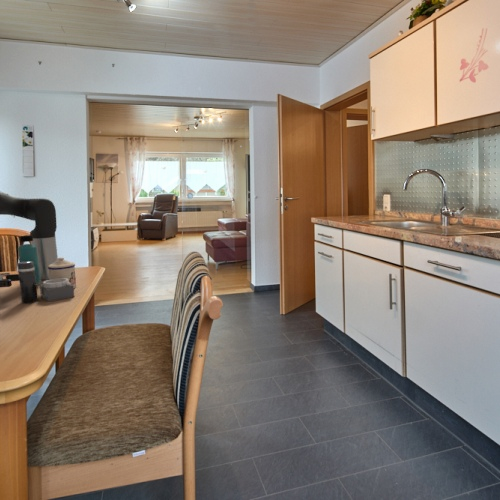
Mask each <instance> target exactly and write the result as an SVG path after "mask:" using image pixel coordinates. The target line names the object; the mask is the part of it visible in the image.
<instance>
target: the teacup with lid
mask: <svg viewBox="0 0 500 500" xmlns="http://www.w3.org/2000/svg"><path fill="white" fill-rule="evenodd" d="M75 266H76V264H75V263H74V262H71V261H68V260H66V259H65V257H58V261H56V262H54V263H53V264H50V265H49V266H48V269H49V276H50V279H57V278H67V279H69V283H71V285H73V289H76V288H77V279H76V278H77V276H76V268H75ZM50 279H49V280H50Z"/></svg>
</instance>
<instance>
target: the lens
mask: <svg viewBox="0 0 500 500" xmlns="http://www.w3.org/2000/svg"><path fill="white" fill-rule="evenodd" d="M17 274H19V281H18V282H19V289H20V296H21V303H22V304H32V303H33V304H34V303H36V302H38V301H39V299H38V290H37V285H36V279H35V268H34V262H32V261H25V262H20V261H19V262H18V263H17Z"/></svg>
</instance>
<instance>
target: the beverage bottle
mask: <svg viewBox="0 0 500 500" xmlns="http://www.w3.org/2000/svg"><path fill="white" fill-rule="evenodd" d="M19 239H20V240H19V241H20V242H22V243H25V244H20V245H19V246H18V248H17V251H18V262H19V263H20V262H25V261H32V262H34V268H35V279H36V286H37V285H41V281H42V280H40V272H39V264H38V255H37V246H35V245H34V244H31V243H27V242H31V241H33V238H32V236H31V235H30V234H26V235H25V234H24V235H21V236H20V237H19Z"/></svg>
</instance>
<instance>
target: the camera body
mask: <svg viewBox="0 0 500 500" xmlns="http://www.w3.org/2000/svg"><path fill="white" fill-rule="evenodd" d="M74 289H75V288H74ZM74 289H73V285H71V283H69V279H67V278H57V279H45V280H44V281H42V283H40V284H39V292H40V297H42V298H43V299H44V300H46V301H48V302H54V301H59V300H64V299H69V298H74V297H75V290H74Z"/></svg>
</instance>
